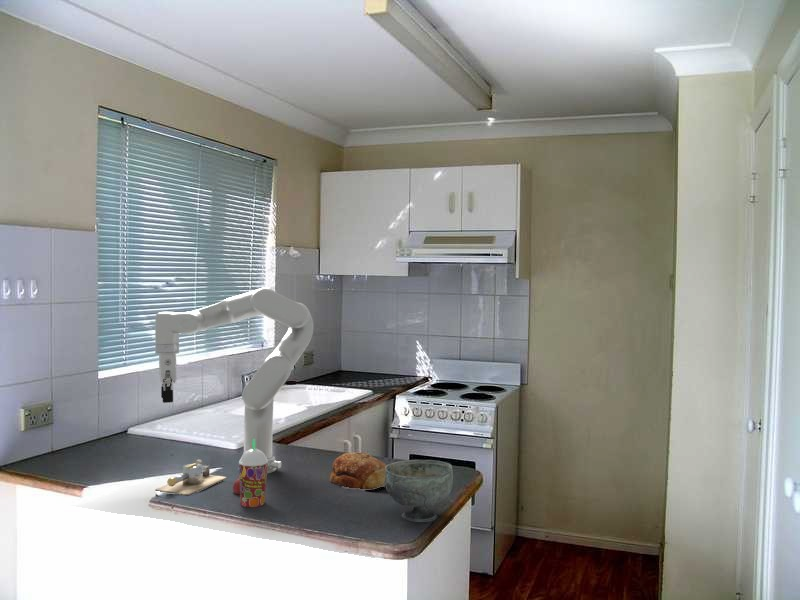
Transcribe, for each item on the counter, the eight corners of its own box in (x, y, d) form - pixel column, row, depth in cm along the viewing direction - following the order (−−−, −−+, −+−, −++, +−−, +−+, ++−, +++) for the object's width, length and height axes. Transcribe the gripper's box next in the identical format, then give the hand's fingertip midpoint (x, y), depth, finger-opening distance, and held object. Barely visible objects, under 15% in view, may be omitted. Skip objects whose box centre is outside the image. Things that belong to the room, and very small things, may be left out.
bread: (361, 473, 237) (362, 445, 237) (404, 483, 226) (405, 453, 226) (322, 487, 220) (322, 456, 220) (366, 498, 209) (367, 466, 209)
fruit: (243, 501, 203) (244, 475, 203) (230, 498, 206) (230, 471, 206) (258, 496, 208) (259, 470, 208) (245, 493, 211) (245, 467, 211)
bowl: (394, 505, 203) (395, 454, 203) (458, 512, 197) (459, 461, 197) (373, 526, 184) (374, 471, 184) (442, 535, 179) (444, 478, 178)
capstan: (196, 476, 221) (197, 458, 221) (212, 478, 219) (212, 460, 219) (160, 490, 205) (160, 472, 204) (177, 493, 203) (177, 474, 202)
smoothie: (240, 514, 192) (241, 443, 192) (235, 505, 200) (236, 437, 199) (270, 510, 195) (271, 441, 195) (263, 502, 203) (265, 435, 203)
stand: (227, 483, 222) (227, 461, 221) (188, 500, 203) (188, 477, 203) (196, 478, 226) (196, 457, 226) (155, 495, 207) (155, 473, 207)
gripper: (180, 351, 220) (180, 403, 221) (177, 346, 236) (177, 395, 237) (156, 351, 218) (156, 404, 218) (154, 346, 234) (154, 396, 234)
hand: (167, 400), depth 227 cm, fingers open, 9 cm apart
